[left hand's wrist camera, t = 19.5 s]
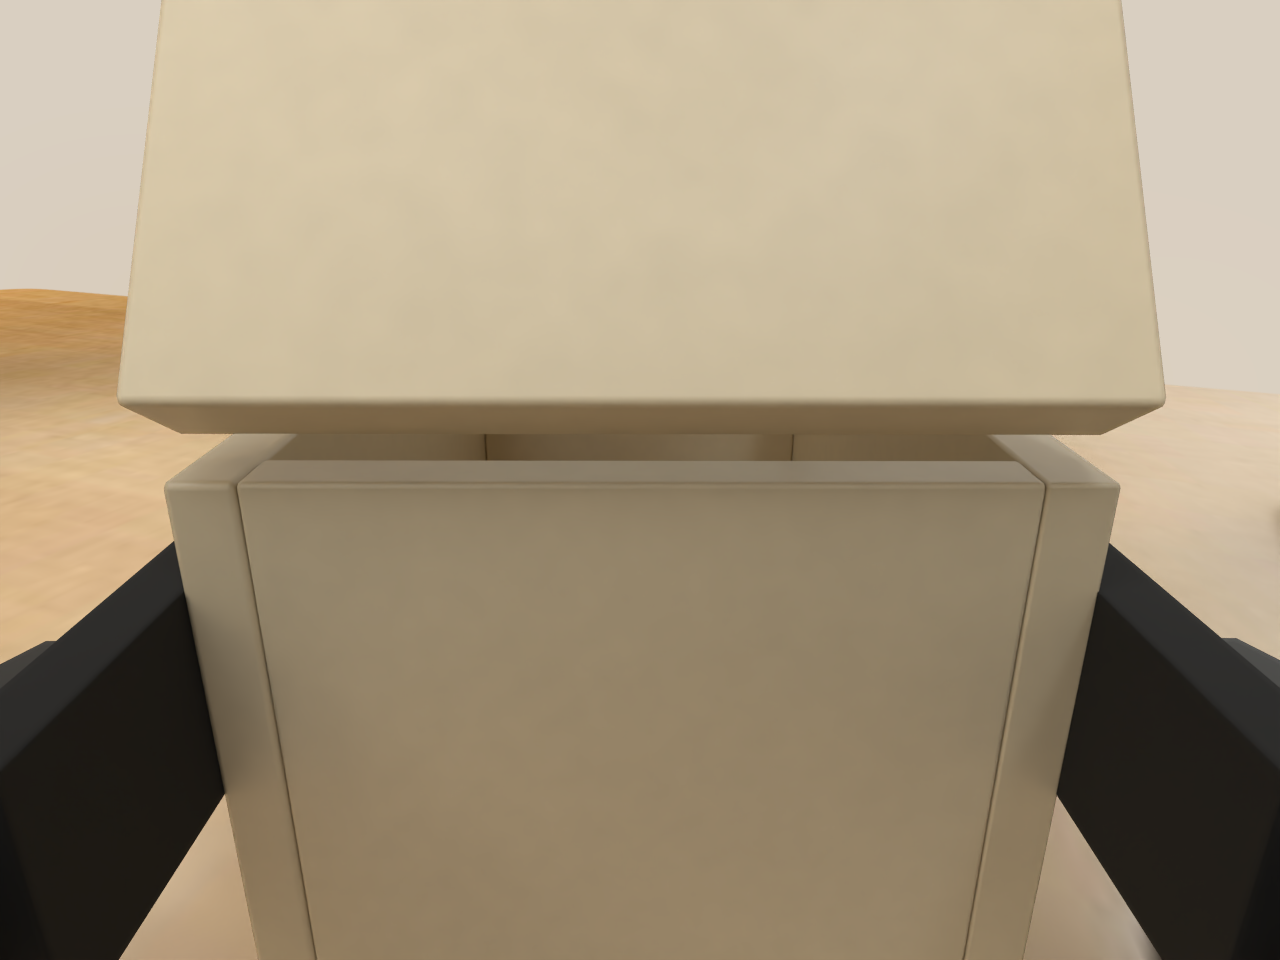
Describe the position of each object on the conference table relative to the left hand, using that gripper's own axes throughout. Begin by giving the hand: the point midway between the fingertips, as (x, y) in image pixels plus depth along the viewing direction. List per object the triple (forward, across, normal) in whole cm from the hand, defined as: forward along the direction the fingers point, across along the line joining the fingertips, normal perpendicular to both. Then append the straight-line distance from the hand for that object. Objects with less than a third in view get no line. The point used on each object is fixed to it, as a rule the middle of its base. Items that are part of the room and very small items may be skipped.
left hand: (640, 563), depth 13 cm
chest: (+4, 0, -7) cm, 8 cm away
